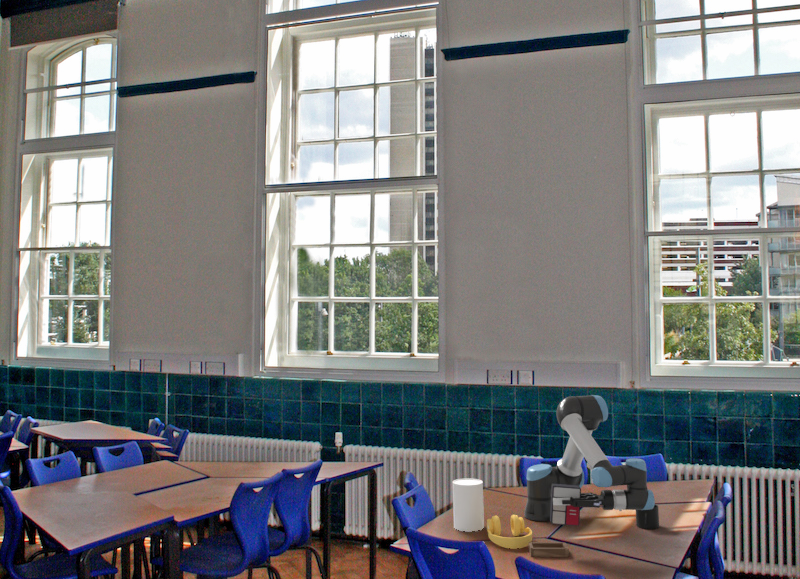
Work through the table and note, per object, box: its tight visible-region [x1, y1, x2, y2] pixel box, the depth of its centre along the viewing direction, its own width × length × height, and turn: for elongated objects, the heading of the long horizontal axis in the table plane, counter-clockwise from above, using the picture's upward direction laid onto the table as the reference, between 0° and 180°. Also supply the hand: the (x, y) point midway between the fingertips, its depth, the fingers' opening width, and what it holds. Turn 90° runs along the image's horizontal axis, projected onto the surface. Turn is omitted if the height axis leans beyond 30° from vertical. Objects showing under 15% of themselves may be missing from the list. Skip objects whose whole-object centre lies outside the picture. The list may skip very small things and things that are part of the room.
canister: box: [452, 477, 485, 533], centre depth 290 cm, size 14×14×20 cm
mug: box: [635, 504, 660, 530], centre depth 284 cm, size 9×12×9 cm
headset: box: [486, 514, 533, 550], centre depth 270 cm, size 18×21×9 cm
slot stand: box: [527, 541, 570, 558], centre depth 253 cm, size 8×14×3 cm, turn 86°
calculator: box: [549, 484, 582, 527], centre depth 256 cm, size 11×4×15 cm, turn 85°
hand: (552, 500), depth 256 cm, fingers closed on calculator, 4 cm apart
